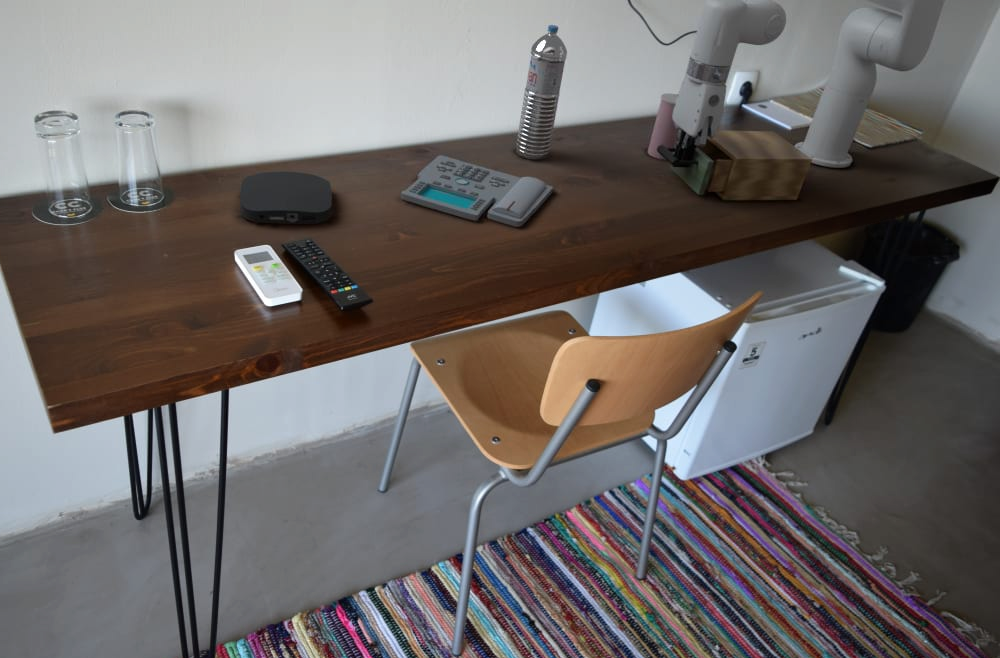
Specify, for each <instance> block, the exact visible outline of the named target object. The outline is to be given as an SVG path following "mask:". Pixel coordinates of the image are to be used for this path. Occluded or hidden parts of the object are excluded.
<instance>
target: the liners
mask: <svg viewBox="0 0 1000 658" xmlns="http://www.w3.org/2000/svg"><path fill="white" fill-rule="evenodd" d="M677 96H678V94H676V93H662V94H661V95H660V103H659V108H658V111H657V113H656V114H657V115H656V118H655V121H654V126H653V129H652V134H651V137H650V141H649V145H648V149H647V154H648V155H649V156H651V157H653V158H655V159H658V160H662V161H663V160H664V161H667V160H666V159H665V158H663V157H662V156H661V155H660V154H659V153H658V152H657V147H658V146H660V145H663V146H664V147H666V148H675V144H676V139H677V134H678V132H677V129H676V127H675V125H674V123H675V122H674V121H673V119H672V115H673V110H674V106H675V103H676V99H677ZM671 153H672V154H673V152H671Z"/></svg>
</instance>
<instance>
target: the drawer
mask: <svg viewBox="0 0 1000 658" xmlns="http://www.w3.org/2000/svg"><path fill="white" fill-rule="evenodd" d="M676 145H677V143H676V144H675V148H666V147H664V146H663V145H660V146H658V147H657V152H658V153H659V154H660V155H661V156H662V157H663V158H665V159H666V160H665V161H666V162H668V163H669V165H668V168H669V169H670V170H671V171H673V173H674V174H676V175H677V176H678V177H679V178H680V179H681V180H682V181H683V182H684V183H685V184H686V185H687V186H688V187H690V189H692V190H693V192H694V193H696V195H699V196H704V195H705V193H706V192H705V191H707V192H709V193H715V192H724V190H725V186H726V183H727V180H728V177H729V174H730V171H731V168H732V165H733V162H734V160H733V159H731V158H730V157H729V156H728V155H726V154H725V153H724V152H723V151H722V150H720V149H719V148H718V147H717V146H715V145H714V144H713V143H712V142H711V141H709V140H708V139H706V145H705V146H698V147H697V148H696V149H695V150H694V154H693V157H692V160H679V159H678V158H676V157H675V156H674V152H675V149H676ZM671 152H673V154H672V153H671ZM679 164H690V166H689V167H677V166H679Z"/></svg>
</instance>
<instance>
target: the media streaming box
mask: <svg viewBox="0 0 1000 658" xmlns="http://www.w3.org/2000/svg"><path fill="white" fill-rule="evenodd" d="M239 192H240V195H239V197H240V199H239V201H240V214H241V216H242V217H243V218H245V219H246V220H248V221H251V222H255V223H259V224H261V223H262V224H263V223H264V224H291V225H292V224H293V225H295V224H297V225H298V224H299V225H302V224H304V225H305V224H306V225H307V224H309V225H311V224H312V225H313V224H314V225H315V224H320V223H324V222H326V221H328V220H330V218H331V217H332V209H333V208H332V202H333V201H332V200H333V196H332V187H331V183H330V181H329V180H328V179H325V178H324V177H321V176H319V175H316V174H311V173H305V172H297V171H267V172H258V173H254V174H251V175H248V176H245V177H244V178H242V180H241V184H240V191H239Z"/></svg>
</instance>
